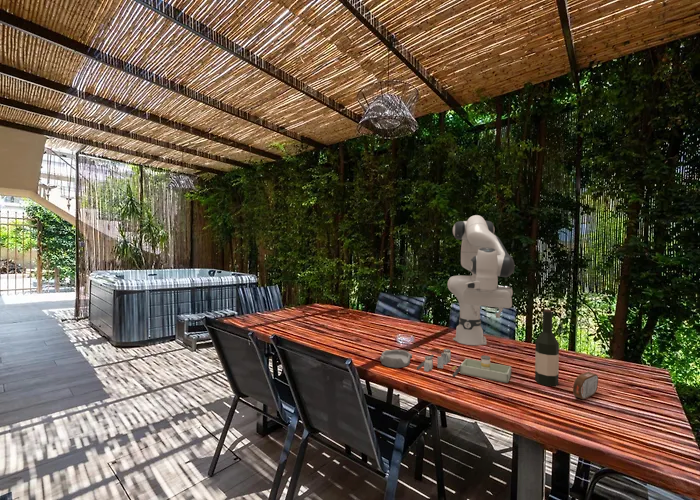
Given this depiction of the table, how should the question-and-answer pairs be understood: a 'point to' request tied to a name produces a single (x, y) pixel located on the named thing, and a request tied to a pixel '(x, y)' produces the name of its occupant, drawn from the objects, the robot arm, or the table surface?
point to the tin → (585, 385)
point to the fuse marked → (485, 362)
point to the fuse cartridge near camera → (429, 361)
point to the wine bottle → (547, 354)
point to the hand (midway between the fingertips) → (486, 316)
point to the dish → (395, 358)
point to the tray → (495, 372)
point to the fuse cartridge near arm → (447, 353)
